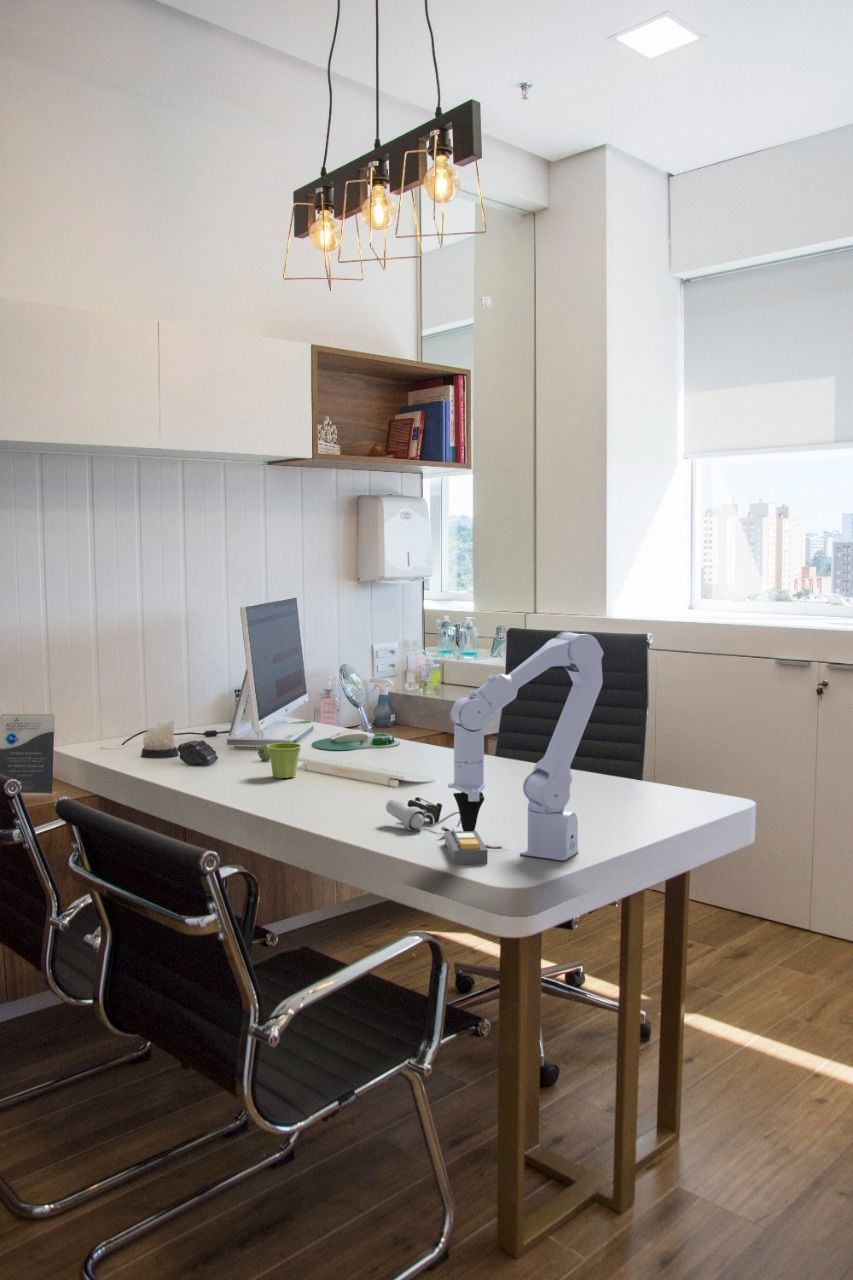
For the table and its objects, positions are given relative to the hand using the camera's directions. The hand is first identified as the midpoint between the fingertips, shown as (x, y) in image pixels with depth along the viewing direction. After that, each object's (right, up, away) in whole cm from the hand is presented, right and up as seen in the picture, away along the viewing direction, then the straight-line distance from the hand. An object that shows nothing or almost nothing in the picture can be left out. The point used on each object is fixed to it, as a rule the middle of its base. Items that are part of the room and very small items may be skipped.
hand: (468, 830), depth 203 cm
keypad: (0, -5, +5) cm, 8 cm away
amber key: (0, -4, 0) cm, 4 cm away
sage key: (-1, -3, +10) cm, 11 cm away
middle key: (0, -4, +5) cm, 6 cm away
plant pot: (-46, -1, +82) cm, 95 cm away
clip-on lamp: (-8, -4, +26) cm, 28 cm away
